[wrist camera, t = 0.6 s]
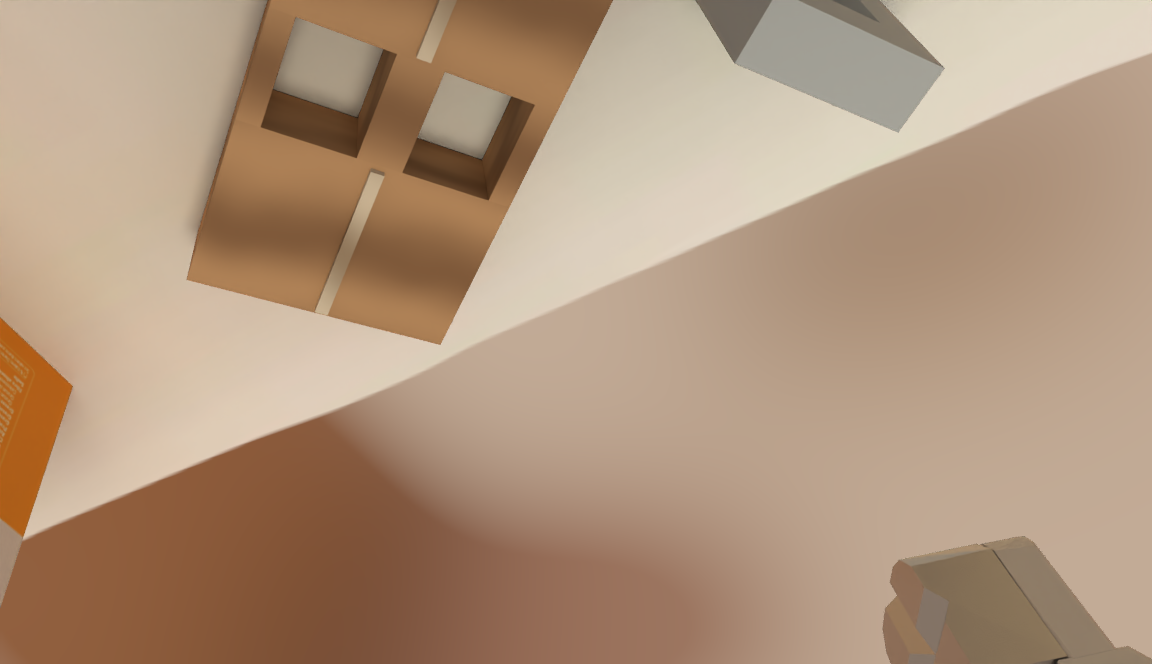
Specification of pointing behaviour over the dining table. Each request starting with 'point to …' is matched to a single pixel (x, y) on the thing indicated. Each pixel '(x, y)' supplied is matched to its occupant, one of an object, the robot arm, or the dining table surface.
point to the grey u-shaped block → (830, 52)
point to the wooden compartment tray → (384, 160)
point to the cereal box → (24, 436)
